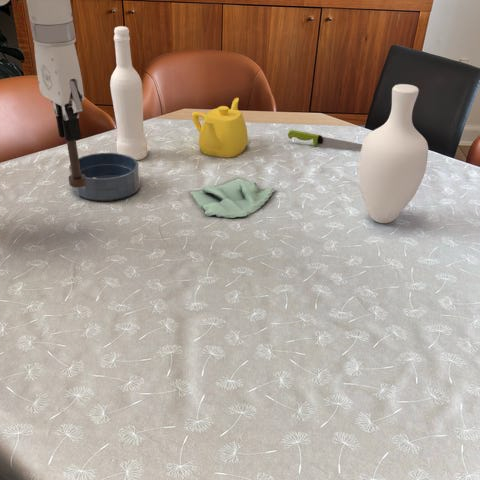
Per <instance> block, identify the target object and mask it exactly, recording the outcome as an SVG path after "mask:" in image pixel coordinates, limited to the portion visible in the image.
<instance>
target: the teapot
mask: <svg viewBox="0 0 480 480" xmlns="http://www.w3.org/2000/svg"><path fill="white" fill-rule="evenodd" d="M239 101H240V99H239V97H235V98H234V99H233V100H232V103H231V108H229V107H228V106H226V105H221V106H220V105H219V106H218V107H216V108H212V109H211V110H209V111H208V112H207V113H205V112H202V111H193V112H192V113H191V119H192V122H193V125H194V126H195V128H196V130H197V131H198V132H199V135H198V146H199V149H200V151H201V153H202V154H204V155H207V156H212V157H218V158H227V159H229V158H230V159H231V158H234V157H236V156H237V157H238V155H240V154H241V153H243V152H244V150H245V149H246V146H247V144H248V139H249V137H248V129H247V124H246V121H245V117H244V116H243V114H242V112H241V110H239V108H238V105H239ZM200 118H203V120H202V123H201V122H200Z"/></svg>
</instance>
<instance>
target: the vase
mask: <svg viewBox="0 0 480 480" xmlns="http://www.w3.org/2000/svg"><path fill="white" fill-rule="evenodd" d="M419 91H420V89H419V88H418V86H415V85H413V84H409V83H408V84H407V83H398V84H395V85H394V86H392V88H391V110H390V113H389V116H388V119H387V120H386V121H385V123H384V124H382V125H381V126H379V127H377V128H375V129H373V130H372V131H370V132H369V133H368V134H367V135H366V136H365V138H364V139H363V141H362V144H363V145H362V148H361V149H360V153H359V158H358V163H357V164H358V166H357V172H358V173H357V174H358V184H359V191H360V194H361V197H362V199H363V202H364V204H365V208H366V210H367V212H368V215H369V216H370V218H371V219H372V220H373V221H375V222H376V223H380V224H388V223H392V222H393V221H395V220H396V219H397V218H398V217H399V216H400V214H401V213H402V212H403V211H404V210H405V208H406V207H407V206H408V205H409V204H410V202H411V201H412V200H413V198H414V197H415V195H416V194H417V192H418V190H419V189H420V186H421V184H422V181H423V179H424V177H425V174H426V171H427V170H426V169H427V166H428V165H427V164H428V158H429V145H428V141H427V140H426V138H425V137H424V136H423V135H422V134H421V133H420V132H419V131H418V130H417V129H416V127H415V126H414V123H413V111H414V106H415V105H416V104H415V103H416V101H417V99H418V95H419V93H420V92H419Z"/></svg>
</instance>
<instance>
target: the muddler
mask: <svg viewBox="0 0 480 480" xmlns="http://www.w3.org/2000/svg"><path fill="white" fill-rule="evenodd" d="M69 107H70V106H69ZM69 107H67V110H68V108H69ZM61 111H62V108H61ZM62 117H63V111H62ZM63 120H64V117H63ZM66 144H67V152H68V158H69V163H70V164H71V170H72V175H70V174H69V176H68V177H67V178H68V184H69V186H70V187H71V188H72V187H83V186H85V185H86V184H87V180H86V176H85V175H84V174H81V170H80V164H79V158H80V157H79V151H78V145H77V140H73V141H66ZM70 164H69V165H70Z"/></svg>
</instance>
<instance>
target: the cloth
mask: <svg viewBox="0 0 480 480" xmlns="http://www.w3.org/2000/svg"><path fill="white" fill-rule="evenodd" d="M202 187H203V188H202V190H197V191H190V194H191V196H192V198H193V199H194V200H195V202H196V203H197V204H198V206H199V207H200V209H201V210H203V211H205V212H204V214H205V216H206V217H215V218H224V219H225V218H226V219H235V218H247V216H249V215H251V214H253V213H255V212H257V211H258V210H259V209H261V208H262V206H264V205H265V204H266V202H268V201H269V199H270V198H271V197H272V195H273V193H274V192H275V191H276V190H275V188H274V187H270V188H269V187H267V188H265V189H264V190H262V189H260V188H259V186H258V185H257V182H255V181H253V182H248V181H246V180H244V179H242V178H236V179H234V180H231V181H228V182H226V183H223V184H221V185H219V186H217V185H205V186H202Z"/></svg>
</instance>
